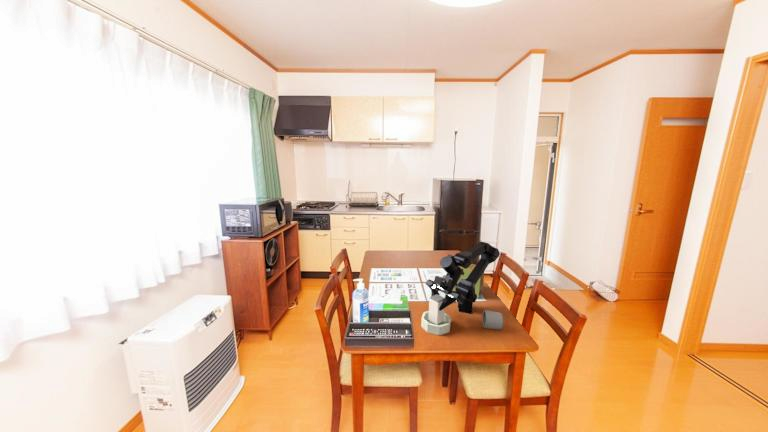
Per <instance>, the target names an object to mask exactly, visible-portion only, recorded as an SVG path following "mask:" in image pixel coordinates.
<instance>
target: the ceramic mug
mask: <svg viewBox="0 0 768 432" xmlns="http://www.w3.org/2000/svg"><path fill="white" fill-rule="evenodd" d="M481 316H482V317H481V318H482V319H481V320H482V321H481V322H482V323H481V324H482V327H483V328H484V329H490V330H491V329H493V330H503V329H504V327H505V316H504V314H503V313H501V312H499V311H493V310H488V309H484V310H483V311H482V315H481Z"/></svg>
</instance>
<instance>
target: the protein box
mask: <svg viewBox="0 0 768 432" xmlns="http://www.w3.org/2000/svg"><path fill="white" fill-rule="evenodd" d="M475 266H476V264H474V263H472V264H471V265H470V266H469V267H468V268H463V267H460V266H459V267H460V268H461V269H463V271H464V275H461V276H460V278H459V280H458V282H457V284H458V283H459V282H460V280H461V279H464V280H465V279H467V277H468V276H469V274H470V273H471V272H472V270H473V269H474V267H475ZM484 277H485V271H484V272H483V274H482V275H481V277H480V278H479V280H478V281H477V283H476V285H475V294H476V295H477V299H476V300H479V299H480V298H481V296H482V294H483V290H484V281H485V279H484ZM455 289H456V286H455V287H454V289H453V290H452V291H456V290H455Z"/></svg>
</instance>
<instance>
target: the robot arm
mask: <svg viewBox="0 0 768 432" xmlns="http://www.w3.org/2000/svg"><path fill="white" fill-rule="evenodd" d="M479 256H480V258H479V260H478V261H477V263H476V264H475V265H476V266H475V267H474V269H473V270H472V272H471V273H470V274H469V276H468V277H467V279H465V280H464V279H461V280H460V282H459V283H458V284H457V282H458V280H459V278H460V276H461V275H464V271H463V269H461V268H460V267H463V268H468V267H469V266H470V265H471V264H473V261H474V259H476V258H478V257H479ZM499 257H500V251H499V248H498V247H497V248H496V247H494V246H492V245H491V244H490V243H488V242H485V241H478V243H477V244H476V245H474V246H473V247H471V248H470V249H467V250H466V251H460V252H456V253H455V254H454V255H453V254H447V256H444V257H442V258H440V260H439V265H440V266H441V268H442V269H443V270H444V272H445V273H446V275H445V274H444V275H442V277H441V276H438V275H435V277H434V280H432V279H429V278H428V279H427V280H426V282H425V285H426V286H427V287H428V288H429V289H430V290H431V293H430V294H431V296H430V297H432V296H434V295H436V294H438V295H440V296H441V293H443V294H444V295H445V296H444V298H445V299H444V301H443V303H442V304H441V306H440V308H439V310H440V311H441V310H443V309H444V308H445V309H446V308H447V307H449V306H450V305H452V304H456V303H457V309H458V311H459V312H462V313H466V314H473V304H474V303H476V301H477V300H478V299H477V295H476V294H475V285H476V283H477V281H478V280H479V278H480V277H481V275H482V274H483V272H484V273H485V270H486V269H487V268H488V266H489V265H490V264H492V263H494V262H495V261H497V259H498V258H499ZM459 266H460V267H459ZM455 286H456V289H455V290H456V291H452V290H453V289H454V287H455ZM439 292H441V293H439Z"/></svg>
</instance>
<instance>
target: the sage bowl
mask: <svg viewBox="0 0 768 432" xmlns="http://www.w3.org/2000/svg"><path fill="white" fill-rule="evenodd" d="M428 318H429V310H427V311H423V312H422V315H421V318H420V320H421V321H420V322H421V323H420V327H421V328H422V329H423V330H424V331H425V332H426V333H428V334H432V335H436V336H443V335H445V334H448V333H450V331H451V323H452V317H451V316H450V315H449V314H447V313H446V312H445V318H444V321H443V322H441V323H439V324H435V323H433V322H432V321H430V320H428Z"/></svg>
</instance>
